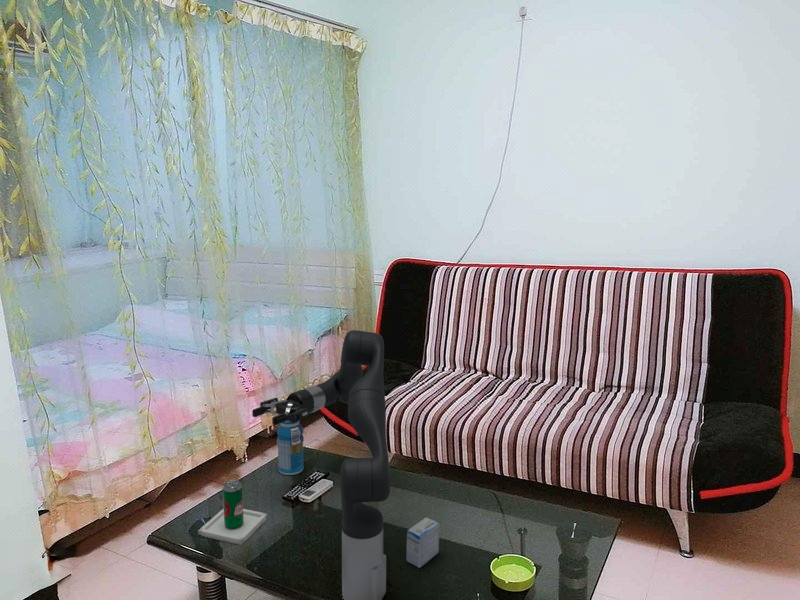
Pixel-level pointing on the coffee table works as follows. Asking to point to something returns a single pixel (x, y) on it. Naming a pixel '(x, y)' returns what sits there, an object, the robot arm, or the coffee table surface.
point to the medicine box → (422, 542)
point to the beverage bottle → (290, 448)
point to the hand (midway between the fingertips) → (263, 417)
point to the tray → (237, 535)
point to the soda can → (233, 504)
